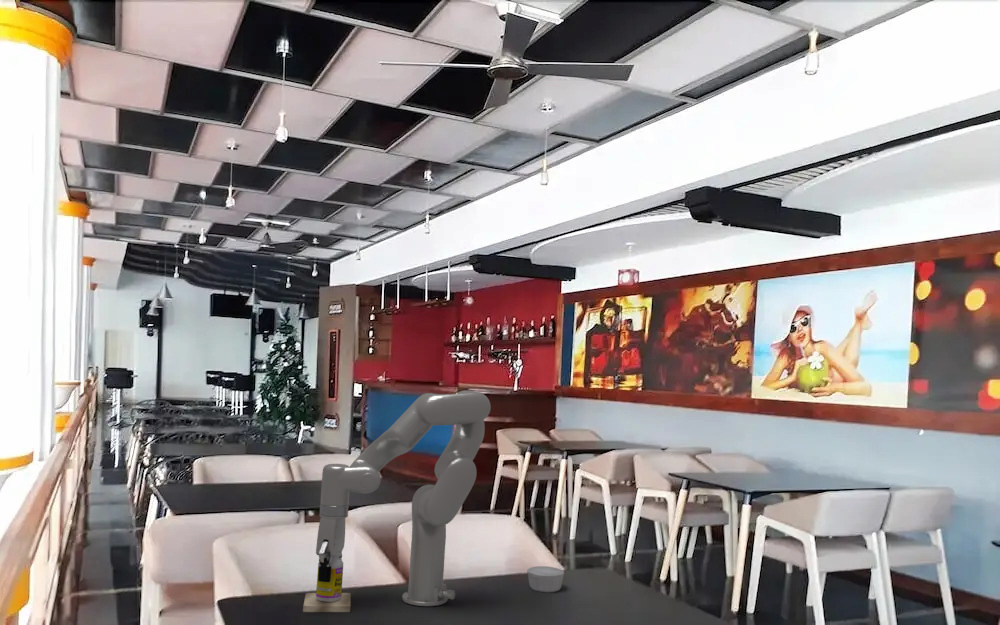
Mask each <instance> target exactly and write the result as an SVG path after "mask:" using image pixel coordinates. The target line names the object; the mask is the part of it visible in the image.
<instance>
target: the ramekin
mask: <svg viewBox="0 0 1000 625" xmlns="http://www.w3.org/2000/svg"><path fill="white" fill-rule="evenodd" d="M526 571H527V572H526V574H527V576H528V586H529V587H530V589H531V590H534V591H536V592H542V593H555V592H559V591H560V590H561V589H562V585H563V580H564V576H565V571H564V570H563V569H561V568H557V567H553V566H542V565H541V566H531V567H529V568H528V569H527V570H526Z"/></svg>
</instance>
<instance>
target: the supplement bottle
mask: <svg viewBox="0 0 1000 625" xmlns="http://www.w3.org/2000/svg"><path fill="white" fill-rule="evenodd" d="M325 554H330V553H325ZM340 555H341V550H340V551H338V552H337V554H336V555H334V556H332V560H331V564H330V566H331V580H330V582H319V581H318V574H319V562H318V564H317V575H316V578H317V579H316V590H315V591H316V592H315V593H316V599H317V600H319V601H322V602H335V601H338V600H339V599H340V598H341V593H343V592H342V588H343V574H344V573H343V572H344V561H343V559H342V560H341V559H339V556H340ZM325 558H327V561H328V557H325Z"/></svg>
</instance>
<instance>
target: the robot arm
mask: <svg viewBox="0 0 1000 625" xmlns="http://www.w3.org/2000/svg"><path fill="white" fill-rule="evenodd" d="M491 408H492V407H491V401H490V400H489V398H488V397H487V395H485V394H484V393H482V392H478V391H475V390H474V391H473V390H461V391H458V392H457V393H449V394H446V393H445V394H442V393H441V394H438V393H433V392H430V393H429V392H426V393H422V395H420V396H419V397H418V398H417V399H416V400H414V401H413V402H412V403H411V405H410V406H409V407H408V408H407V409H406V410H405V411H404V412H403V413H402V414H401V415H400V417H398V419H397V420H395V422H394V423H393V424H391V426H390V427H389V428H388V429H387V430H386V431H384V432H382V434H381V435H380V436H379V437H377V438H376V439H375V440H374V441H373V442H371V443H370V444H369V445H368V446H367V447H366V448H365V449H364V450H363V451H362V452H361V453H360V454H359V456H357V457H356V458H355V459H354V461H353V462H352V463H351V464H350V466H349V465H348V464H344V463H343V464H342V463H328V464H325V465H324V466H323V468H322V474H321V489H320V504H319V517H320V519H319V525H318V529H317V531H318V532H317V538H316V546H315V547H316V548H315V554H316V556H318V563H319V574H318V573H317V575H318V581H319V582H330V580H331V566H330V564H331V560H332V556H334V555H336V554H337V552H338V551H340V550H341V555H340V556H339V559H341V560H342V561H343V559H342V557H343V550H344V547H345V543H346V518H348V517H349V505H350V504H349V502H350V492H351V493H357V494H358V493H359V494H371V493H374V492H375V491H376V490H378V488H379V487H380V484H381V481H382V480H381V479H382V478H381V474H380V471H381V470H382V469H383V468H384V467H385V466H386V465H387V464H388V463H390V462H391V461H392V460H393V459H395V458H397V457H399V456H402V455H403V454H404V455H405V454H407V453H408V452H409V451H411V450H413V448H414V447H415V446H416V445H417V444H418V443H419V442H420V440H421V439H423V437H424V436H426V434H427V433H428V432H429V431H430V430H431V429H432V427H434V426H453V425H454V426H455V429H454V431H453V433H452V436H451V438H450V440H449V441H448V443H447V445H446V446H445V448H444V450H443V451H442V453H441V455H440V456H439V458H438V460H437V461H436V463H435V465H434V474H435V478H436V479H437V481H436V483H435V484H424V485H423V486H421V487H419V488H418V489H417V490H416V491H415V492H414V494H413V496H412V500H411V523H412V524H411V526H412V527H411V530H412V531H411V543H410V556H409V557H410V559H409V560H410V561H409V576H408V590H407V591H406V592H403V594H402V597H401V598H402V599H401V600H402V601H403V602H404V603H406V604H409V605H412V606H417V607H419V606H420V607H435V606H441V605H444V604H446V603H447V602H448V600H454V599H455V597H456V592H455V590H454V589H447V583H444V571H445V558H446V557H445V556H446V555H445V554H446V541H447V540H446V539H447V538H446V537H447V526H446V525H447V524H450V523H451V521H452V520H454V518H455V517H456V516H457V514H458V512H459V511H460V510H461V508H462V506H463V504H464V503H465V501H466V499H467V498H468V496H469V494H470V492H471V490H472V488H473V486H474V484H475V481H476V480H477V474H478V473H477V466H476V464H475V462H474V461H473V460H474V459H475V458H476V455H477V454H478V452H479V450H480V448H481V445H482V443H483V440H484V438H485V432H486V431H485V427H486V426H485V419H487V417H488V416H489V414H490V413H491ZM325 553H330V554H325ZM325 557H328V561H327V558H325Z"/></svg>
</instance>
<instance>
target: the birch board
mask: <svg viewBox="0 0 1000 625" xmlns="http://www.w3.org/2000/svg"><path fill="white" fill-rule="evenodd" d="M351 601H352V600H351V592H341V598H340V599H339V600H338V601H335V602H322V601H319V600H317V599H316V592H306V593H305V596H304V602H303V606H302V613H350V612H351V603H352V602H351Z"/></svg>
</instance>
